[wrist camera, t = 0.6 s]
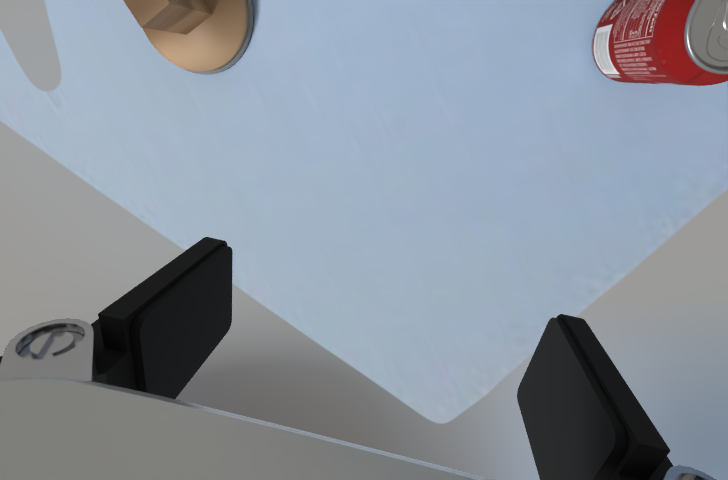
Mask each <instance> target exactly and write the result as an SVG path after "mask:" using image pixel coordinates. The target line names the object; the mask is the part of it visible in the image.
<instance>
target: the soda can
mask: <svg viewBox="0 0 728 480" xmlns="http://www.w3.org/2000/svg"><path fill="white" fill-rule="evenodd" d="M592 55H593V59H594V62H595V64H596V66H597V68H598V69H599V71H600V72H601V73H602V74H603V75H605V76H606V77H608V78H609V79H612V80H614V81H618V82H628V83H651V84H674V85H697V86H704V85H713V84H718V83H722V82H726V81H728V0H616V1H615V2H614V3H613V4H612V5H611V6H610V7H609V8H608V9H607V10H606V11H605V13H604V14H603V15H602V17H601V19H600V20H599V22H598V24H597V26H596V29H595V31H594V35H593V39H592Z"/></svg>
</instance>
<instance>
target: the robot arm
mask: <svg viewBox="0 0 728 480" xmlns="http://www.w3.org/2000/svg"><path fill="white" fill-rule="evenodd" d="M98 316H99V319H98V320H96V321H95V322H94V323H92V324H91V325H90V324H89V323H87V322H85V321H82V320H79V319H57V320H52V321H48V322H44V323H40V324H38V325H35V326H32V327H30V328H28V329H26V330H25V331H23V332H21V333H19V334H18V335H16V336H15V337H14V338H13V339H12V340H11V341H10V342H9V343H8V345H7V347H6V348H5V351H4V354H3V356H1V357H0V480H493V479H489V478H485V477H481V476H477V475H474V474H470V473H466V472H462V471H458V470H455V469H451V468H447V467H443V466H439V465H435V464H431V463H428V462H424V461H420V460H416V459H412V458H408V457H404V456H400V455H396V454H392V453H388V452H384V451H380V450H376V449H373V448H368V447H365V446H361V445H357V444H353V443H349V442H345V441H341V440H337V439H333V438H329V437H325V436H321V435H317V434H313V433H309V432H305V431H301V430H297V429H294V428H289V427H285V426H281V425H277V424H273V423H269V422H265V421H261V420H257V419H253V418H249V417H245V416H241V415H237V414H233V413H229V412H225V411H221V410H216V409H213V408H208V407H205V406H200V405H196V404H192V403H188V402H184V401H180V400H175V399H176V397H177V396H178V395H179V393H180V392H181V391H182V390H183V388H184V387H185V386H186V385H187V383H188V382H189V381H190V379H191V378H192V377H193V376H194V374H195V373H196V372H197V370H198V369H199V368H200V367H201V365H202V364H203V363H204V361H205V360H206V359H207V358H208V356H209V355H210V354H211V353H212V351H213V350H214V349H215V347H216V346H217V345H218V344H219V342H220V341H221V340H222V339H223V337H224V336H225V335H226V333H227V332H228V330H229V328H230V326H231V322H232V321H231V320H232V248H231V247H228V246H227V243H226V242H225V241H223V240H218V239H214V238H209V237H205V238H203V239H202V240H200V241H199V242H197V243H196V244H195V245H193V246H192V247H190V248H189V249H188V250H186V251H185V252H184V253H182V254H181V255H179V256H178V257H177V258H175V259H174V260H172V261H171V262H170V263H168V264H167V265H165V266H164V267H163V268H161V269H160V270H158V271H157V272H156V273H154V274H153V275H152V276H150V277H149V278H147V279H146V280H145V281H143V282H142V283H140V284H139V285H138V286H136V287H135V288H133V289H132V290H131V291H129V292H128V293H126V294H125V295H124V296H122V297H121V298H120V299H118V300H117V301H115V302H114V303H112V304H111V305H110V306H108V307H107V308H105V309H104V310H103V311H102V312H100V313H99V314H98ZM517 399H518V403H519V407H520V410H521V414H522V417H523V421H524V424H525V428H526V432H527V435H528V438H529V442H530V445H531V449H532V453H533V456H534V460H535V463H536V467H537V470H538V474H539V477H540V480H716V479H714V478H713V477H711V476H709V475H707V474H706V473H704V472H701V471H699V470H696V469H694V468H691V467H686V466H681V465H678V466H673V465H672V463H671V462H670V460H669V459H668V457H667V454H668V453H669V452H670V449H669V448H668V446H667V445H666V443H665V442H664V440H663V438H662V437H661V436H660V434H659V432H658V431H657V429H656V428H655V426H654V425H653V423H652V422H651V420H650V419H649V417H648V416H647V414H646V413H645V411H644V410H643V408H642V407H641V405H640V404H639V402H638V400H637V399H636V397H635V396H634V394H633V393H632V391H631V390H630V388H629V387H628V385H627V384H626V382H625V381H624V379H623V378H622V376H621V374H620V373H619V371H618V370H617V368H616V367H615V365H614V364H613V362H612V361H611V359H610V358H609V356H608V355H607V353H606V352H605V350H604V349H603V347H602V346H601V344H600V342H599V341H598V340H597V338H596V337H595V335H594V333H593V332H592V330H591V329H590V327H589V326H588V324H587V323H586V321H585V320H584V319H581V318H577V317H572V316H568V315H563V314H560V315H558V316H557V318H551V319H550V320H549V322H548V324H547V326H546V328H545V331H544V333H543V335H542V337H541V339H540V342H539V344H538V346H537V348H536V350H535V353H534V355H533V357H532V359H531V361H530V364H529V366H528V368H527V371H526V372H525V374H524V377H523V379H522V381H521V383H520V386H519V388H518V393H517Z"/></svg>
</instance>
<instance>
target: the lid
mask: <svg viewBox="0 0 728 480" xmlns="http://www.w3.org/2000/svg"><path fill="white" fill-rule="evenodd" d="M124 2H125V3H126V5H127V6H128V8H129V10H130V11H131V13H132V14H133V16H134V17H135V19H136V20H137V22H138V23H139V25H140V26H141V28H143V30H144V32H145V34H146V35H147V37H148V39H149V40H150V42H151V43H152V45H153V46H154V47H155V48H156V49H157V51H158V52H159V53H160V54H161V55H162V56H164V57H165V58H166V59H167V60H169V61H170V62H171V63H173V64H175V65H177V66H178V67H181V68H183V69H187V70H191V71H213V70H217V69H220V68H222V67H224V66H226V65H227V64H229V63H230V62H231V61H232V60H233V59H234V58H235V57H236V56H237V55H238V53H239V52H240V50H241V48H242V46H243V44H244V42H245V39H246V36H247V31H248V25H249V8H248V1H247V0H124Z"/></svg>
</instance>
